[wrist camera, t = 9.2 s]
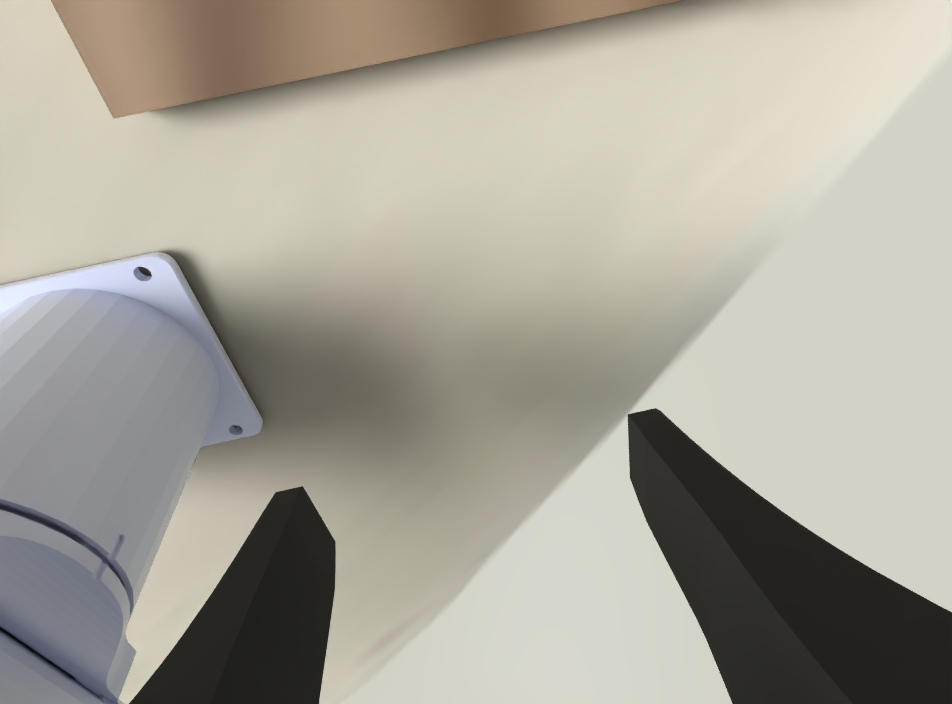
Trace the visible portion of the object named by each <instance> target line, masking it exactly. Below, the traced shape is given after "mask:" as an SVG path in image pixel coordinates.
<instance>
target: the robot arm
mask: <svg viewBox="0 0 952 704" xmlns="http://www.w3.org/2000/svg"><path fill="white" fill-rule="evenodd" d="M138 267H145V268H147V269H148V270H149V271H150V272H151V275H152V276H146V275H144V274H142V273H141V272H140V271H139V268H138ZM232 425H237V426H240V427H241V428H235V427H233V426H232ZM262 425H263V420H262V418H261V416H260V414H259V412H258V410H257V409H256V407H255V405H254V403H253V401H252V399H251V398H250V396H249V394H248V392H247V390H246V388H245V387H244V385H243V383H242V381H241V379H240V377H239V376H238V374H237V372H236V370H235V368H234V366H233V365H232V363H231V361H230V359H229V357H228V356H227V354H226V352H225V350H224V348H223V346H222V345H221V343H220V341H219V339H218V337H217V335H216V334H215V332H214V330H213V328H212V326H211V324H210V323H209V321H208V319H207V317H206V315H205V313H204V312H203V310H202V308H201V306H200V304H199V303H198V301H197V299H196V297H195V295H194V293H193V292H192V290H191V288H190V286H189V284H188V282H187V281H186V279H185V277H184V275H183V273H182V271H181V270H180V268H179V266H178V264H177V263H176V261H175V260H174V259H173V258H172V257H171V256H169V255H168V254H165V253H162V252H153V253H148V254H144V255H139V256H134V257H130V258H125V259H120V260H115V261H111V262H106V263H101V264H97V265H92V266H87V267H83V268H78V269H73V270H69V271H64V272H59V273H54V274H50V275H45V276H40V277H36V278H31V279H26V280H22V281H17V282H12V283H8V284H3V285H0V704H124V703H123V702H121V701H120V700H119V696H120V693H121V691H122V688H123V685H124V683H125V680H126V678H127V675H128V672H129V670H130V667H131V664H132V662H133V659H134V657H135V654H136V650H135V649H134V648H133V647H132V646H131V645H130V644H129V643H128V641H127V639H126V628H127V624H128V621H129V619H130V617H131V614H132V612H133V609H134V607H135V604H136V602H137V600H138V597H139V595H140V592H141V590H142V588H143V585H144V583H145V580H146V578H147V575H148V573H149V571H150V568H151V566H152V563H153V561H154V558H155V556H156V554H157V551H158V549H159V546H160V544H161V542H162V539H163V537H164V534H165V532H166V529H167V527H168V525H169V522H170V520H171V517H172V515H173V513H174V510H175V508H176V505H177V503H178V500H179V498H180V496H181V493H182V491H183V488H184V486H185V483H186V481H187V479H188V476H189V474H190V471H191V469H192V467H193V464H194V462H195V459H196V457H197V454H198V452H199V450H200V447H204V446H208V445H213V444H218V443H222V442H227V441H231V440H236V439H240V438H245V437H249V436H254V435H256V434H258V433H259V432H260V431H261V428H262ZM628 431H629V459H630V460H629V461H630V479H631V481H632V484H633V487H634V490H635V492H636V495H637V498H638V500H639V503H640V506H641V508H642V511H643V513H644V516H645V518H646V521H647V523H648V525H649V527H650V529H651V531H652V532H653V535H654V537H655V539H656V541H657V542H658V545H659V546H660V548H661V550H662V552H663V554H664V556H665V558H666V560H667V562H668V564H669V566H670V568H671V570H672V572H673V574H674V575H675V578H676V580H677V581H678V583H679V585H680V587H681V589H682V591H683V593H684V595H685V597H686V599H687V601H688V603H689V605H690V607H691V608H692V610H693V612H694V614H695V616H696V618H697V620H698V622H699V625H700V627H701V629H702V631H703V633H704V635H705V637H706V639H707V642H708V644H709V647H710V649H711V652H712V654H713V657H714V659H715V661H716V664H717V666H718V669H719V671H720V674H721V676H722V678H723V681H724V683H725V686H726V688H727V691H728V693H729V696H730V698H731V701H732V703H733V704H952V612H950V611H948V610H946V609H944V608H942V607H940V606H938V605H936V604H934V603H933V602H931V601H929V600H927V599H926V598H924V597H922V596H920V595H918V594H916V593H914V592H913V591H911V590H909V589H907V588H905V587H903V586H902V585H900V584H898V583H896V582H894V581H892V580H891V579H889V578H887V577H885V576H884V575H882V574H880V573H878V572H876V571H874V570H873V569H871V568H869V567H868V566H866V565H864V564H863V563H861V562H859V561H858V560H856V559H854V558H852V557H851V556H849V555H848V554H846V553H844V552H843V551H841V550H839V549H838V548H836V547H835V546H833V545H832V544H830V543H828V542H827V541H825V540H824V539H822V538H821V537H819V536H817V535H816V534H814V533H813V532H811V531H810V530H808V529H807V528H805V527H804V526H802V525H801V524H799V523H798V522H796V521H795V520H793V519H792V518H791V517H789V516H788V515H786V514H785V513H784V512H782V511H781V510H779V509H778V508H777V507H775V506H774V505H773V504H771V503H770V502H768V501H767V500H766V499H764V498H763V497H762V496H760V495H759V494H757V493H756V492H755V491H754V490H752V489H751V488H750V487H748V486H747V485H746V484H744V483H743V482H742V481H741V480H739V479H738V478H737V477H736V476H735V475H733V474H732V473H731V472H730V471H728V470H727V469H726V468H724V467H723V466H722V465H721V464H720V463H718V462H717V461H716V460H715V459H713V458H712V457H711V456H710V455H709V454H708V453H706V452H705V451H704V450H703V449H702V448H701V447H700V446H698V445H697V444H696V443H695V442H694V441H693V440H691V439H690V438H689V437H688V436H687V435H686V434H685V433H683V431H681V430H680V429H679V428H678V427H677V426H676V425H675V424H674V423H673V422H672V421H671V420H669V419H668V418H667V417H666V416H665V415H664V414H663V413H662V412H661V411H659V410H658V409H650V410H646V411H641V412H637V413H632V414H628ZM334 590H335V540H334V539H333V537H332V535H331V534H330V532H329V530H328V528H327V527H326V525H325V523H324V522H323V520H322V518H321V517H320V515H319V513H318V511H317V510H316V508H315V506H314V505H313V503H312V501H311V500H310V498H309V496H308V494H307V493H306V491H305V489H304V488H303V486H302V487H298V488H293V489H289V490H284V491H280V492H276V493H275V494H274V496H273V498H272V499H271V501H270V502H269V504H268V505H267V507H266V508H265V510H264V512H263V513H262V515H261V517H260V518H259V520H258V521H257V523H256V525H255V526H254V528H253V529H252V531H251V533H250V534H249V536H248V538H247V539H246V541H245V542H244V544H243V546H242V547H241V549H240V550H239V552H238V554H237V555H236V557H235V558H234V560H233V561H232V563H231V565H230V566H229V568H228V569H227V571H226V572H225V574H224V575H223V577H222V579H221V580H220V582H219V583H218V585H217V586H216V588H215V589H214V591H213V592H212V594H211V595H210V597H209V598H208V600H207V601H206V603H205V604H204V606H203V607H202V608H201V610H200V611H199V613H198V614H197V616H196V617H195V618H194V620H193V621H192V623H191V624H190V626H189V627H188V628H187V630H186V631H185V633H184V634H183V636H182V637H181V638H180V640H179V641H178V642H177V644H176V645H175V646H174V648H173V649H172V651H171V652H170V653H169V655H168V656H167V657H166V658H165V660H164V661H163V662H162V664H161V665H160V666H159V668H158V669H157V670H156V671H155V673H154V674H153V675H152V676H151V677H150V679H149V680H148V681H147V682H146V684H145V685H144V686H143V687H142V689H141V690H140V691H139V692H138V694H137V695H136V696H135V697H134V699H133V700H132V701H131V702H130V703H129V704H319V697H320V690H321V683H322V676H323V669H324V663H325V656H326V649H327V642H328V635H329V628H330V620H331V613H332V606H333V598H334Z"/></svg>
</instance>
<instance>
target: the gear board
mask: <svg viewBox="0 0 952 704" xmlns="http://www.w3.org/2000/svg"><path fill="white" fill-rule="evenodd" d="M678 1H682V0H51V2H52V3H53V5H54V7H55V9H56V11H57V13H58V15H59V17H60V19H61V20H62V22H63V24H64V26H65V28H66V30H67V32H68V34H69V35H70V37H71V39H72V41H73V43H74V45H75V47H76V49H77V51H78V52H79V54H80V56H81V58H82V60H83V62H84V64H85V66H86V67H87V69H88V71H89V73H90V75H91V77H92V79H93V81H94V83H95V84H96V86H97V88H98V90H99V92H100V94H101V96H102V98H103V100H104V101H105V103H106V105H107V107H108V109H109V111H110V113H111V115H112V116H113V118H119V117H124V116H128V115H133V114H138V113H143V112H148V111H152V110H157V109H162V108H167V107H172V106H177V105H181V104H186V103H191V102H196V101H201V100H205V99H210V98H215V97H220V96H225V95H230V94H234V93H239V92H244V91H249V90H254V89H258V88H263V87H268V86H273V85H278V84H283V83H287V82H292V81H297V80H302V79H307V78H311V77H316V76H321V75H326V74H331V73H336V72H340V71H345V70H350V69H355V68H360V67H364V66H369V65H374V64H379V63H384V62H389V61H393V60H398V59H403V58H408V57H413V56H417V55H422V54H427V53H432V52H437V51H442V50H446V49H451V48H456V47H461V46H466V45H470V44H475V43H480V42H485V41H490V40H495V39H499V38H504V37H509V36H514V35H519V34H523V33H528V32H533V31H538V30H543V29H548V28H552V27H557V26H562V25H567V24H572V23H576V22H581V21H586V20H591V19H596V18H601V17H605V16H610V15H615V14H620V13H625V12H629V11H634V10H639V9H644V8H649V7H654V6H658V5H663V4H668V3H673V2H678Z"/></svg>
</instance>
